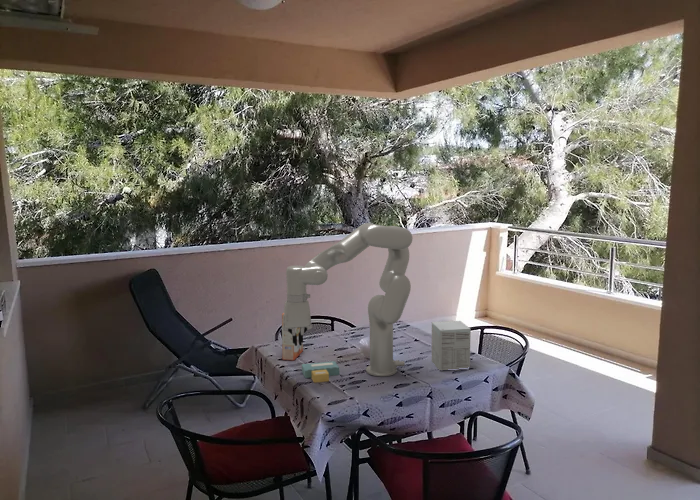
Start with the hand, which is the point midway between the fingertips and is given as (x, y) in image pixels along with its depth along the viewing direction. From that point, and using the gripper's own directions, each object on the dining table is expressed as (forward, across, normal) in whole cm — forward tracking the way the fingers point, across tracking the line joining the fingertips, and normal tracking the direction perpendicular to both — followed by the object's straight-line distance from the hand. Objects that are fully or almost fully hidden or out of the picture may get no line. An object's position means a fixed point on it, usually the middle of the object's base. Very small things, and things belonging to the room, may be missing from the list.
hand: (297, 344), depth 209 cm
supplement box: (+15, -64, -1) cm, 66 cm away
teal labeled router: (+15, -10, -7) cm, 20 cm away
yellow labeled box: (+15, -8, 0) cm, 17 cm away
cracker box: (+15, -2, -32) cm, 36 cm away
